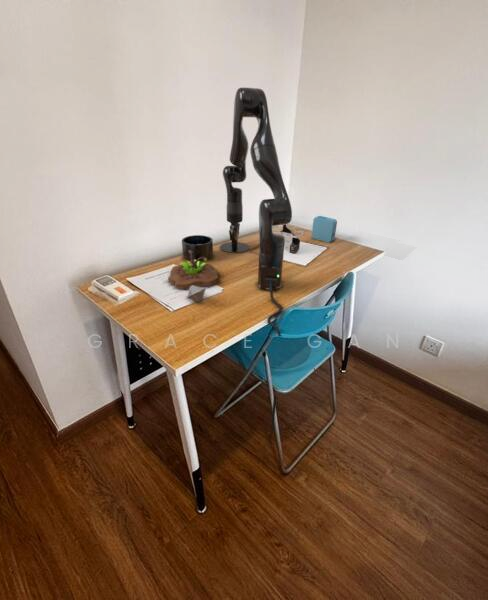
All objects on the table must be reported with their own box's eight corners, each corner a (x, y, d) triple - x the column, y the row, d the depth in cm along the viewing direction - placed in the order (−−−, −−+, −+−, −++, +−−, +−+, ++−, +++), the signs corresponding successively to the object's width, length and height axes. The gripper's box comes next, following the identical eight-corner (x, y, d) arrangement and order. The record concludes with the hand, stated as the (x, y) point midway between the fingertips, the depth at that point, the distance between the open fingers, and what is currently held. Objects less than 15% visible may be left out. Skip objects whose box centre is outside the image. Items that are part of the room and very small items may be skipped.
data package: (334, 241, 176) (337, 219, 170) (330, 243, 173) (333, 221, 167) (315, 236, 182) (317, 215, 176) (311, 238, 179) (313, 216, 173)
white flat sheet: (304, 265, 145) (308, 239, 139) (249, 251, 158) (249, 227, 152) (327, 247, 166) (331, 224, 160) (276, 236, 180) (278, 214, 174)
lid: (246, 255, 153) (246, 243, 150) (216, 252, 155) (216, 240, 152) (251, 245, 166) (251, 233, 163) (224, 243, 168) (223, 231, 165)
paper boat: (182, 290, 118) (204, 280, 121) (190, 306, 119) (212, 295, 121) (184, 287, 107) (209, 276, 109) (193, 304, 107) (217, 293, 110)
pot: (208, 264, 142) (207, 246, 138) (178, 261, 144) (177, 243, 140) (216, 253, 154) (216, 236, 150) (188, 251, 156) (187, 234, 152)
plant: (213, 265, 141) (212, 241, 136) (223, 285, 125) (222, 258, 120) (166, 270, 136) (163, 245, 130) (170, 291, 120) (167, 263, 114)
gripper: (230, 207, 158) (230, 241, 166) (223, 214, 146) (223, 250, 154) (245, 208, 157) (244, 242, 165) (239, 215, 145) (239, 251, 153)
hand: (234, 246), depth 160 cm, fingers closed on lid, 2 cm apart
